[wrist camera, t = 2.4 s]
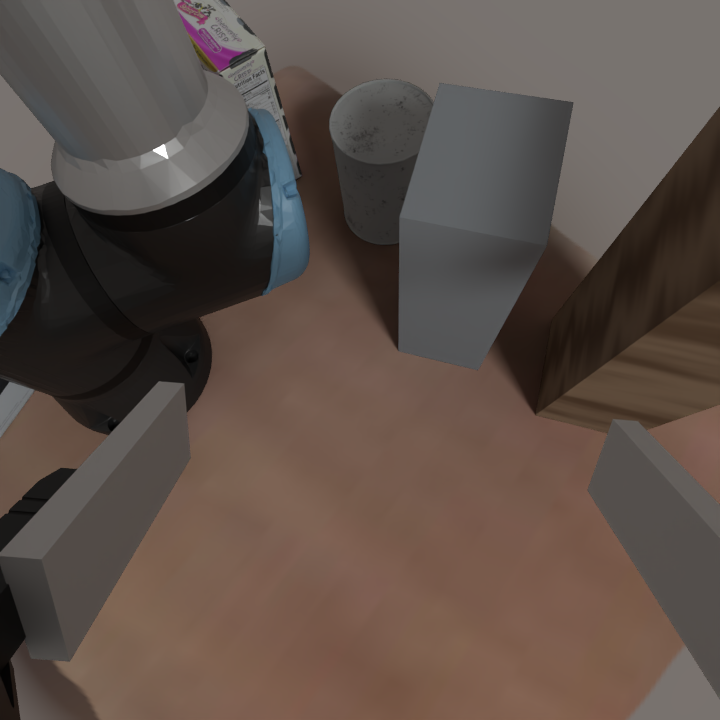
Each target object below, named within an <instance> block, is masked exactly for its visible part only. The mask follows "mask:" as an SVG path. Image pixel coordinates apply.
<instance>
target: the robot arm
mask: <svg viewBox="0 0 720 720" xmlns="http://www.w3.org/2000/svg"><path fill="white" fill-rule="evenodd" d="M0 75H1V76H2V77H3V78H4V79H5V80H6V82H7V83H8V84H9V85H10V87H11V88H12V89H13V90H14V91H15V93H16V94H17V95H18V96H19V97H20V99H21V100H22V101H23V102H24V103H25V105H26V106H27V107H28V108H29V110H30V111H31V112H32V113H33V114H34V116H35V117H36V118H37V119H38V120H39V121H40V123H41V124H42V125H43V126H44V128H45V129H46V130H47V131H48V132H49V134H50V135H51V136H52V137H53V138H54V140H55V144H54V148H53V153H52V159H51V170H52V174H53V179H54V181H52V182H49V183H46V184H43V185H41V186H38V187H34V188H30V187H29V186H28V185H27V184H26V183H25V182H24V180H22V179H21V178H20V177H18V176H17V175H15V174H13V173H10V172H6V171H5V170H3V169H1V168H0V379H3V380H6V381H9V382H12V383H15V384H18V385H21V386H24V387H27V388H30V389H33V390H36V391H39V392H42V393H46V394H48V395H51V396H52V397H53V398H54V399H55V400H56V401H57V402H58V403H59V404H60V405H61V406H62V407H63V408H64V409H65V410H66V411H67V412H68V413H69V414H70V415H71V416H72V417H73V418H74V419H75V420H76V421H77V422H79V423H80V424H82V425H83V426H85V427H87V428H89V429H91V430H93V431H96V432H99V433H103V434H106V435H109V436H108V437H107V438H106V439H105V440H104V441H103V442H102V443H101V444H100V445H99V446H98V448H97V449H96V450H95V451H94V452H93V453H92V454H91V455H90V456H89V457H88V458H87V459H86V460H85V462H84V463H83V464H82V465H81V466H80V467H79V468H78V469H69V468H60V469H58V470H57V471H55V472H53V473H51V474H50V475H48V476H46V477H45V478H43V479H41V480H39V481H38V482H37V483H36V484H35V485H34V486H33V487H32V488H31V489H30V490H29V491H28V492H27V493H26V494H25V495H24V496H23V497H22V500H19V501H18V502H17V503H16V504H15V505H14V506H13V507H12V508H11V509H10V510H9V513H8V514H5V515H4V516H3V517H2V518H1V519H0V720H20V714H19V706H18V698H17V691H16V683H15V676H14V668H13V666H12V663H11V660H10V659H11V657H12V656H13V655H14V653H15V652H16V650H17V649H18V648H19V646H20V645H21V643H22V642H23V641H24V639H25V642H26V645H27V648H28V651H29V654H30V657H31V658H32V659H45V660H58V661H70V660H71V659H72V657H73V655H74V654H75V652H76V650H77V649H78V647H79V645H80V644H81V642H82V640H83V639H84V637H85V635H86V634H87V632H88V630H89V628H90V627H91V625H92V623H93V622H94V620H95V618H96V617H97V615H98V613H99V612H100V610H101V608H102V607H103V605H104V603H105V601H106V600H107V598H108V596H109V595H110V593H111V591H112V590H113V588H114V586H115V585H116V583H117V581H118V580H119V578H120V576H121V575H122V573H123V571H124V569H125V568H126V566H127V564H128V563H129V561H130V559H131V558H132V556H133V554H134V553H135V551H136V549H137V548H138V546H139V544H140V542H141V541H142V539H143V537H144V536H145V534H146V532H147V531H148V529H149V527H150V526H151V524H152V522H153V521H154V519H155V517H156V516H157V514H158V512H159V510H160V509H161V507H162V505H163V504H164V502H165V500H166V499H167V497H168V495H169V494H170V492H171V490H172V489H173V487H174V485H175V483H176V482H177V480H178V478H179V477H180V475H181V473H182V472H183V470H184V468H185V467H186V465H187V463H188V462H189V460H190V458H191V457H190V445H189V433H188V422H187V412H188V411H189V410H190V408H191V407H192V406H193V405H194V404H195V402H196V401H197V400H198V398H199V396H200V395H201V393H202V391H203V389H204V387H205V385H206V383H207V380H208V377H209V373H210V369H211V362H212V350H211V343H210V339H209V336H208V333H207V331H206V329H205V327H204V325H203V324H202V322H201V321H200V320H199V319H198V318H199V317H202V316H204V315H207V314H210V313H213V312H216V311H218V310H221V309H224V308H227V307H230V306H233V305H235V304H238V303H241V302H244V301H247V300H249V299H252V298H255V297H258V296H263V295H266V294H268V293H269V292H270V291H271V290H272V289H274V288H276V287H279V286H281V285H283V284H285V283H288V282H290V281H292V280H294V279H296V278H298V277H299V276H301V275H302V274H303V272H304V271H305V269H306V267H307V265H308V262H309V255H310V248H309V237H308V230H307V225H306V219H305V214H304V210H303V206H302V201H301V197H300V195H299V192H298V191H297V189H296V181H295V176H294V171H293V167H292V163H291V160H290V157H289V154H288V151H287V148H286V145H285V142H284V139H283V136H282V134H281V131H280V129H279V127H278V125H277V123H276V121H275V119H274V117H273V115H272V114H271V113H270V112H269V111H268V110H266V109H254V108H252V107H251V108H249V109H248V108H247V106H246V103H245V101H244V99H243V96H242V94H241V93H240V92H239V91H238V89H237V88H236V87H235V86H234V85H233V84H232V83H231V82H229V81H228V80H226V79H224V78H223V77H221V76H219V75H216V74H214V73H211V72H209V71H206V70H203V68H202V66H201V64H200V61H199V59H198V57H197V54H196V52H195V50H194V47H193V45H192V43H191V40H190V38H189V36H188V33H187V31H186V29H185V26H184V24H183V22H182V19H181V17H180V15H179V12H178V10H177V8H176V5H175V3H174V1H173V0H0ZM588 492H589V494H590V495H591V497H592V498H593V500H594V502H595V503H596V505H597V506H598V508H599V509H600V511H601V513H602V514H603V516H604V517H605V519H606V520H607V522H608V524H609V525H610V527H611V528H612V530H613V532H614V533H615V535H616V536H617V538H618V539H619V541H620V543H621V544H622V546H623V547H624V549H625V550H626V552H627V554H628V555H629V557H630V558H631V560H632V562H633V563H634V565H635V566H636V568H637V569H638V571H639V573H640V574H641V576H642V577H643V579H644V580H645V582H646V584H647V585H648V587H649V588H650V590H651V591H652V593H653V595H654V596H655V598H656V599H657V601H658V603H659V604H660V606H661V607H662V609H663V610H664V612H665V614H666V615H667V617H668V618H669V620H670V621H671V623H672V625H673V626H674V628H675V629H676V631H677V633H678V634H679V636H680V637H681V639H682V640H683V642H684V644H685V645H686V647H687V648H688V650H689V651H690V653H691V654H692V656H693V658H694V659H695V661H696V662H697V664H698V666H699V667H700V669H701V670H702V672H703V674H704V675H705V677H706V678H707V680H708V681H709V683H710V685H711V686H712V687H713V689H714V691H715V692H716V694H717V696H718V697H719V699H720V504H719V503H718V502H717V501H716V500H715V499H714V498H713V497H712V496H711V495H710V494H709V493H708V492H707V491H706V490H705V489H704V488H703V487H702V486H701V485H700V484H699V483H698V482H697V481H696V480H695V479H694V478H693V477H692V476H691V475H690V474H689V473H688V472H687V471H686V470H685V469H684V468H683V467H682V466H681V465H680V464H679V463H678V462H677V461H676V460H675V459H674V458H673V457H672V456H671V455H670V454H669V453H668V452H667V451H666V450H665V448H664V447H663V446H662V445H661V444H660V443H659V442H658V441H657V440H656V439H655V438H654V437H653V436H652V435H651V434H650V433H649V432H648V431H647V430H646V429H645V428H644V427H643V426H642V425H641V424H640V423H639V422H638V421H630V420H618V419H613V420H612V423H611V426H610V428H609V431H608V434H607V437H606V440H605V442H604V445H603V448H602V451H601V454H600V456H599V459H598V462H597V465H596V468H595V470H594V473H593V476H592V479H591V482H590V484H589V487H588Z"/></svg>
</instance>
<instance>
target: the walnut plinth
mask: <svg viewBox="0 0 720 720" xmlns="http://www.w3.org/2000/svg"><path fill="white" fill-rule="evenodd" d="M717 405H720V107H719V108H718V110H717V111H716V112H715V113H714V115H713V116H712V117H711V119H710V120H709V121H708V122H707V124H706V125H705V126H704V128H703V129H702V130H701V131H700V133H699V134H698V135H697V136H696V138H695V139H694V140H693V141H692V143H691V144H690V145H689V146H688V148H687V149H686V150H685V152H684V153H683V154H682V156H681V157H680V158H679V159H678V160H677V162H676V163H675V164H674V166H673V167H672V168H671V169H670V171H669V172H668V173H667V174H666V176H665V177H664V178H663V179H662V181H661V182H660V183H659V185H658V186H657V187H656V188H655V190H654V191H653V192H652V194H651V195H650V196H649V197H648V199H647V200H646V201H645V202H644V204H643V205H642V206H641V208H640V209H639V210H638V211H637V212H636V214H635V215H634V216H633V218H632V219H631V220H630V221H629V223H628V224H627V225H626V227H625V228H624V229H623V230H622V232H621V233H620V234H619V235H618V237H617V238H616V239H615V241H614V242H613V243H612V244H611V246H610V247H609V248H608V249H607V251H606V252H605V253H604V254H603V256H602V257H601V258H600V259H599V261H598V262H597V263H596V265H595V266H594V267H593V268H592V270H591V271H590V272H589V273H588V275H587V276H586V277H585V279H584V280H583V281H582V282H581V284H580V285H579V286H578V287H577V289H576V290H575V291H574V292H573V294H572V295H571V296H570V298H569V299H568V300H567V301H566V303H565V304H564V305H563V306H562V308H561V309H560V310H559V312H558V313H557V314H556V315H555V317H554V318H553V319H552V322H551V328H550V334H549V340H548V345H547V351H546V357H545V363H544V369H543V374H542V380H541V386H540V392H539V398H538V403H537V409H536V415H537V416H541V417H545V418H549V419H553V420H557V421H561V422H565V423H569V424H573V425H577V426H581V427H585V428H589V429H593V430H597V431H601V432H605V433H608V431H609V428H610V426H611V423H612V420H613V419H618V420H630V421H638V422H639V423H640V424H641V425H642V426H643V427H644V428H645V429H646V430H648V429H651V428H654V427H657V426H660V425H662V424H665V423H668V422H671V421H674V420H677V419H680V418H683V417H686V416H688V415H691V414H694V413H697V412H700V411H703V410H706V409H709V408H712V407H714V406H717Z"/></svg>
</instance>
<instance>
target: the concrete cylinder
mask: <svg viewBox="0 0 720 720" xmlns="http://www.w3.org/2000/svg"><path fill="white" fill-rule="evenodd" d="M433 104H434V102H433V100H432V99H431V98H430V97H429V95H428V94H427V93H425V92H424V91H423V90H422V89H420V88H419V87H417V86H415V85H413V84H411V83H409V82H405V81H401V80H397V79H379V80H372V81H368V82H365V83H362V84H360V85H358V86H355V87H353V88H352V89H350V90H349V91H348V92H346V93H345V94H344V95H343V96H342V97H341V98H340V99H339V100H338V101H337V102H336V104H335V106H334V108H333V109H332V112H331V115H330V119H329V131H330V134H331V137H332V142H333V148H334V153H335V159H336V165H337V171H338V177H339V182H340V188H341V194H342V200H343V205H344V216H345V219H346V222H347V224H348V226H349V228H350V229H351V230H352V231H353V232H354V233H355V234H356V235H357V236H358V237H360V238H361V239H363V240H365V241H367V242H370V243H373V244H379V245H392V244H397V243H399V217H400V214H401V211H402V207H403V204H404V201H405V197H406V194H407V191H408V187H409V184H410V181H411V177H412V174H413V171H414V167H415V164H416V161H417V157H418V154H419V151H420V147H421V144H422V141H423V137H424V134H425V131H426V127H427V124H428V121H429V117H430V114H431V111H432V107H433Z"/></svg>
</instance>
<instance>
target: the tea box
mask: <svg viewBox="0 0 720 720" xmlns="http://www.w3.org/2000/svg"><path fill="white" fill-rule="evenodd" d="M34 391H35V390H33V389H30V388H27V387H24V386H21V385H18V384H15V383H12V382H9V381H6V380H3V379H0V438H1V436H2V435H3V434H4V432H5V431H6V429H7V428H8V427H9V425H10V424H11V423H12V421H13V420H14V419H15V417H16V416H17V414H18V413H19V412H20V410H21V409H22V408H23V406H24V405H25V403H26V402H27V401H28V399H29V398H30V396H31V395H32V394H33V392H34Z"/></svg>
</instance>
